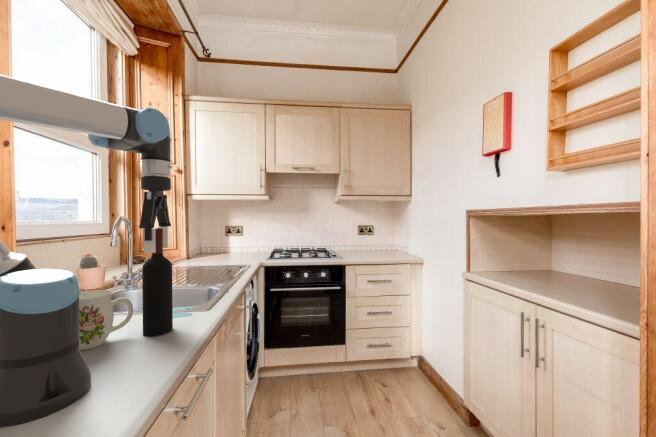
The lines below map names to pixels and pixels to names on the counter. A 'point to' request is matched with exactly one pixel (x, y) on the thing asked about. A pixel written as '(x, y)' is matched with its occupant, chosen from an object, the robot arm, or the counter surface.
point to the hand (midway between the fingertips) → (156, 250)
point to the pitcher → (98, 317)
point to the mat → (182, 314)
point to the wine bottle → (157, 291)
